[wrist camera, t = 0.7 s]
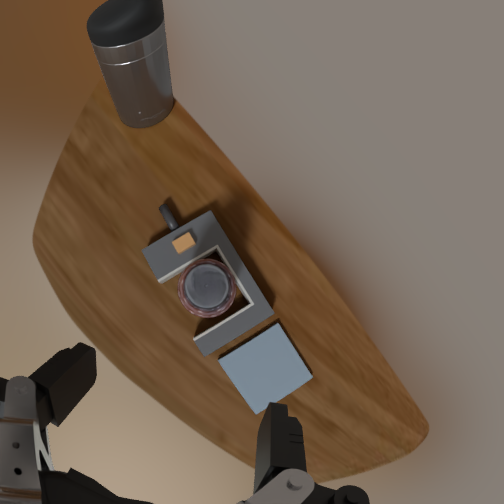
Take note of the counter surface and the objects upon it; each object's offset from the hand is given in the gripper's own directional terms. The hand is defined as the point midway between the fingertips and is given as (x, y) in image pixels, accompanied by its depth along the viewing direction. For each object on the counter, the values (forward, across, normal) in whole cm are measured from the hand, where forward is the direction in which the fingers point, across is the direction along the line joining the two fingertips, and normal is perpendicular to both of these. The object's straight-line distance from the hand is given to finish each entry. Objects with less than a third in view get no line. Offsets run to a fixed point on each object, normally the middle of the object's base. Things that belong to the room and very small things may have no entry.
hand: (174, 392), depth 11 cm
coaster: (+22, -7, +12) cm, 27 cm away
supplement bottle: (+25, +3, +5) cm, 26 cm away
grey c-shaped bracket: (+26, +4, +3) cm, 26 cm away
